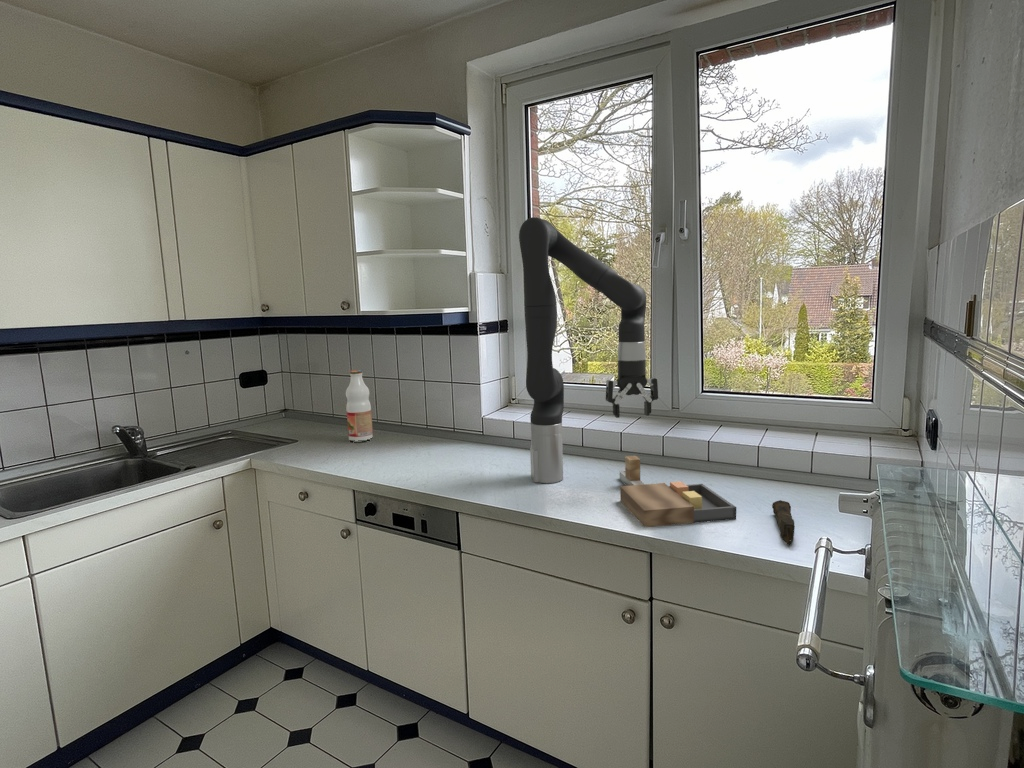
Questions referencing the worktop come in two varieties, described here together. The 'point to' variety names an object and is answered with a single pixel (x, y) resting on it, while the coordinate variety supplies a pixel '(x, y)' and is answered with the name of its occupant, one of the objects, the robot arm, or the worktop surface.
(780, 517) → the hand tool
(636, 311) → the robot arm
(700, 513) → the box
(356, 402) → the fruit juice
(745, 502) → the worktop surface
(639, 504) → the walnut slab
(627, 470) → the oak scraper
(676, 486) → the salmon orange block
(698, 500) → the yellow block
